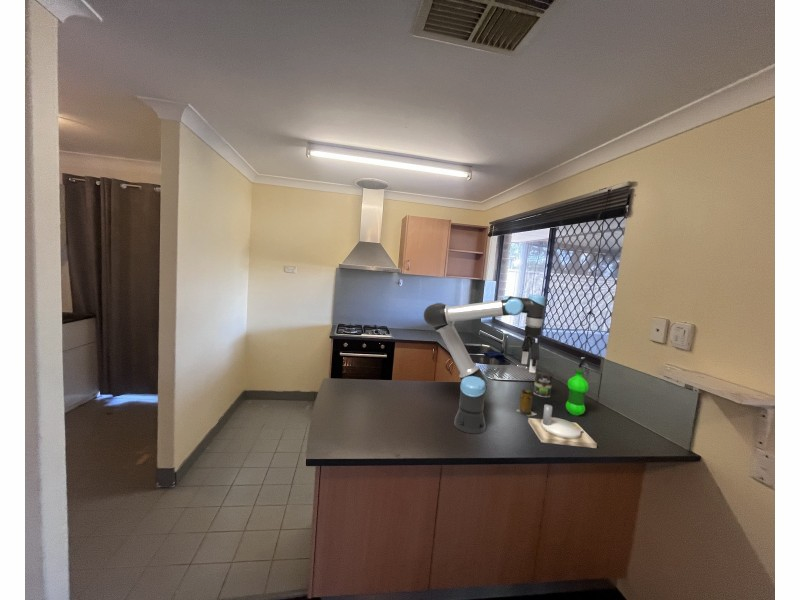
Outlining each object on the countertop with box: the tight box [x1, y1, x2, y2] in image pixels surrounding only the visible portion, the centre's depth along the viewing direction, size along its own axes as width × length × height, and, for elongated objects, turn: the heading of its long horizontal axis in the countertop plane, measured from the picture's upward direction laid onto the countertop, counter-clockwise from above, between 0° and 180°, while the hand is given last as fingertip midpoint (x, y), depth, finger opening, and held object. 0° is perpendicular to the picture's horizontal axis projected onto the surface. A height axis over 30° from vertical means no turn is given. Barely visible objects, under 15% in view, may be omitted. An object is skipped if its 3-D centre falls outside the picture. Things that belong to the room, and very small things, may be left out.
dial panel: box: [527, 417, 598, 449], centre depth 151 cm, size 24×20×2 cm
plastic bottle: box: [565, 368, 589, 417], centre depth 175 cm, size 10×10×25 cm
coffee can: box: [532, 370, 554, 398], centre depth 202 cm, size 10×10×14 cm
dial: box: [541, 404, 581, 439], centre depth 151 cm, size 17×17×11 cm
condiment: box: [515, 389, 538, 417], centre depth 173 cm, size 7×8×12 cm
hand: (527, 368), depth 155 cm, fingers open, 13 cm apart
